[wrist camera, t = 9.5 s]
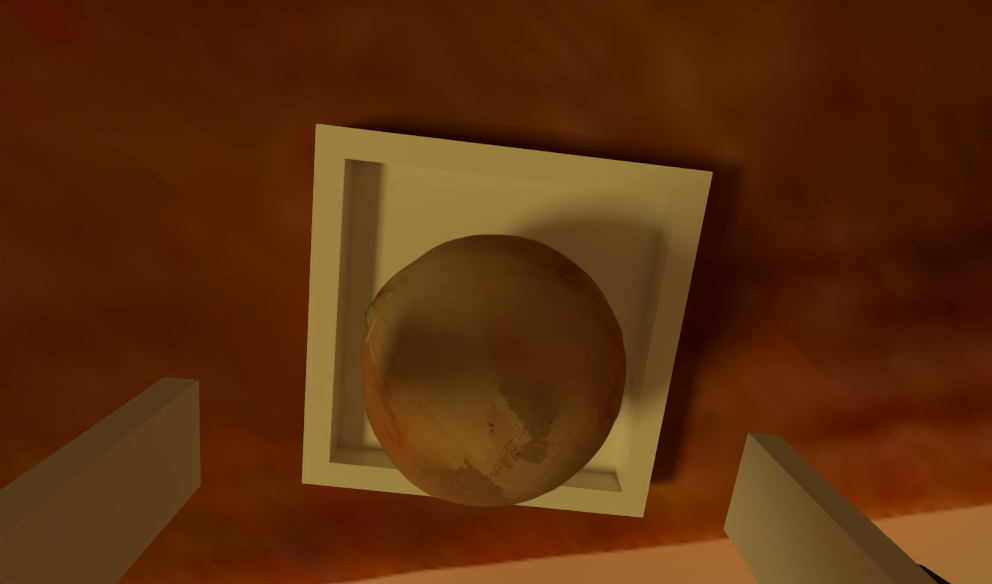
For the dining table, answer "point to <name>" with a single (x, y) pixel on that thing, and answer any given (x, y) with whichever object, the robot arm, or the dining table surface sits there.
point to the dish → (506, 211)
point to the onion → (491, 370)
